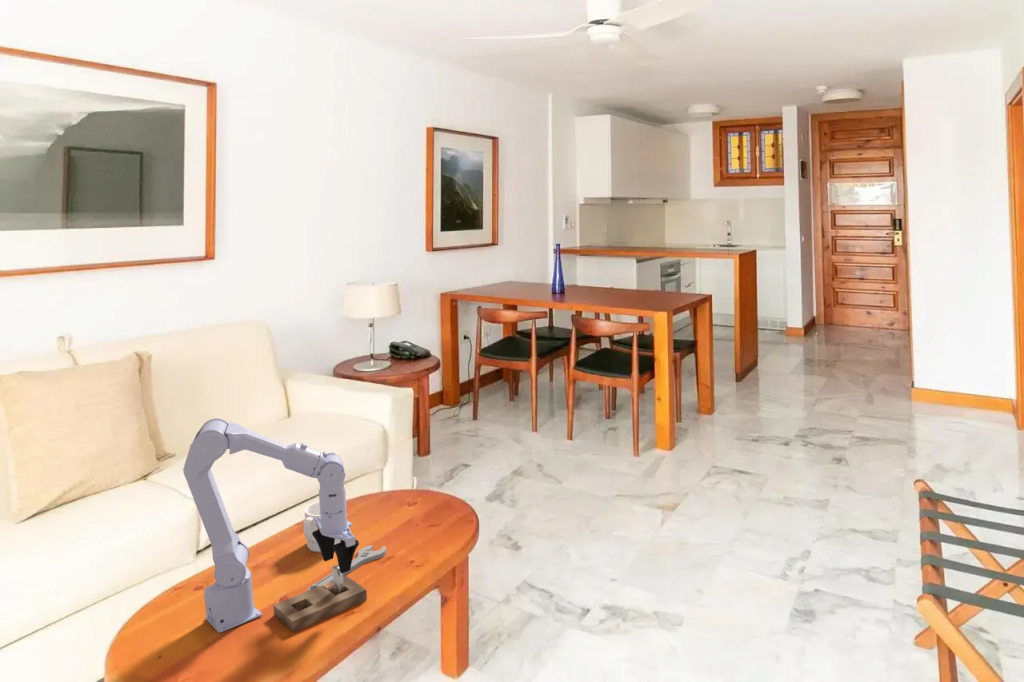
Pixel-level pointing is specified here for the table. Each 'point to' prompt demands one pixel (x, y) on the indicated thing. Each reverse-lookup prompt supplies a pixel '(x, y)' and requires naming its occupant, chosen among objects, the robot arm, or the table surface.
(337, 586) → the steel pin
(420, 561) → the table surface
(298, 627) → the dock board
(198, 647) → the table surface
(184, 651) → the table surface
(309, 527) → the mug
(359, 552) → the adjustable wrench
